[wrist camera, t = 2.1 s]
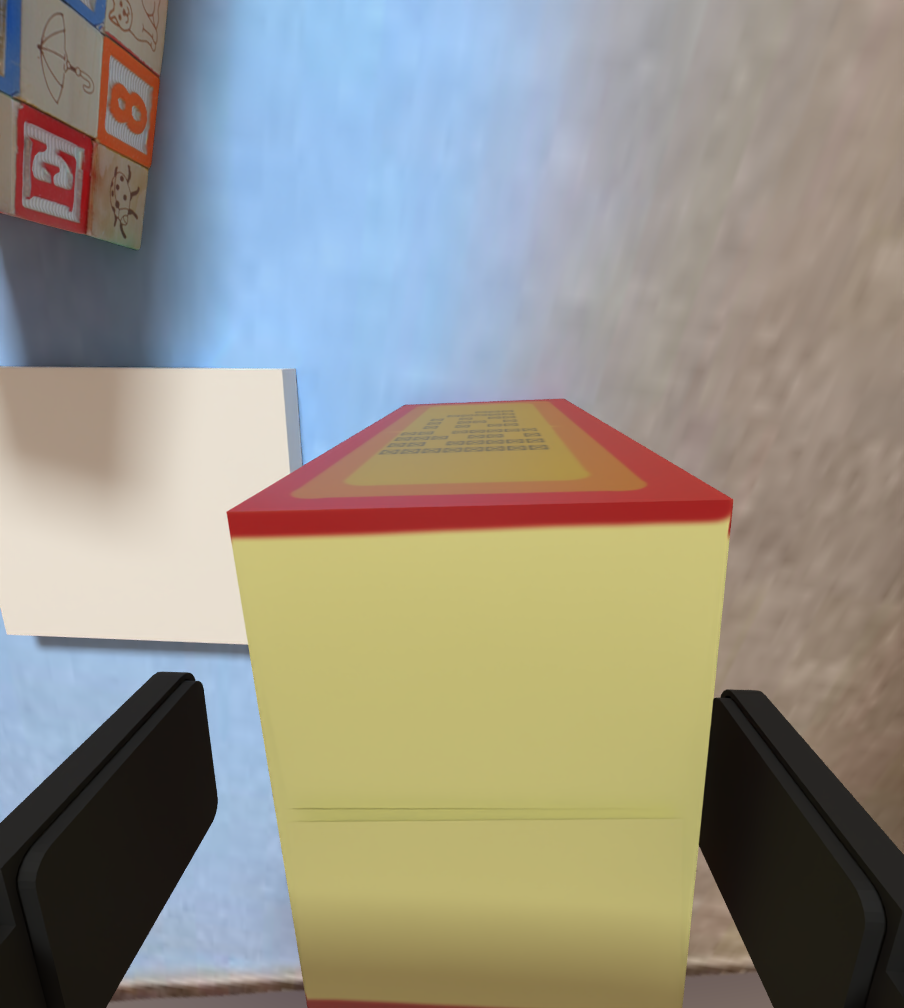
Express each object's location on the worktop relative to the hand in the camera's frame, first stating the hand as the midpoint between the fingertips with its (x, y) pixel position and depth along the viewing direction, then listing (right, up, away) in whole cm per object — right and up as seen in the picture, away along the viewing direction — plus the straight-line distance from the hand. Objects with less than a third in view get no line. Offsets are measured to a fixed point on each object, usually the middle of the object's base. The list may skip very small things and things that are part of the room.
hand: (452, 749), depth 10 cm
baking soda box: (+2, +4, +14) cm, 14 cm away
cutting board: (-13, +4, +14) cm, 20 cm away
